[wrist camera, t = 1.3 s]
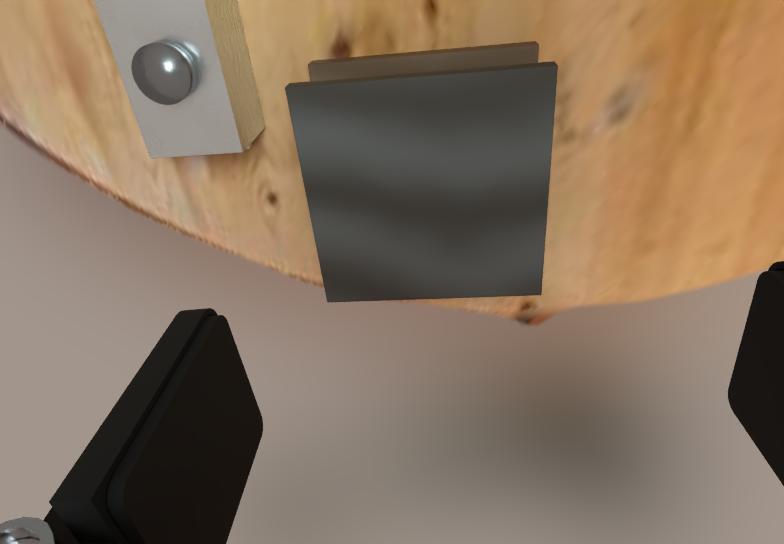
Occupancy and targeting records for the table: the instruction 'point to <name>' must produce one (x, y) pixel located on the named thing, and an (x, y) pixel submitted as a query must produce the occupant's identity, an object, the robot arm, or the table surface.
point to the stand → (428, 171)
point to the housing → (185, 74)
